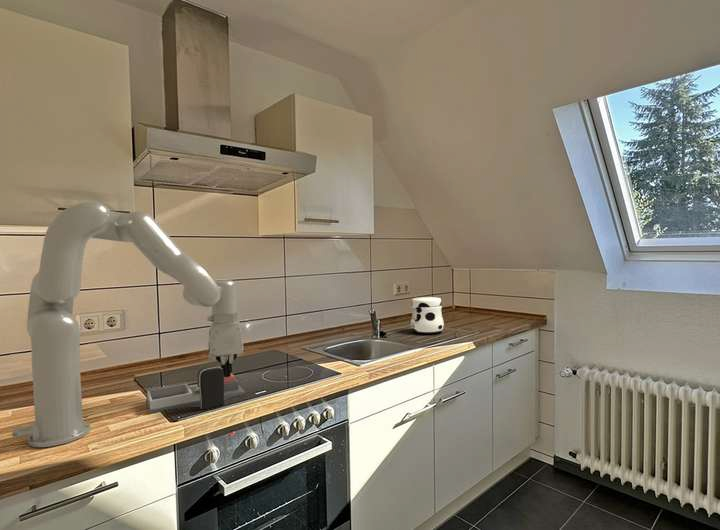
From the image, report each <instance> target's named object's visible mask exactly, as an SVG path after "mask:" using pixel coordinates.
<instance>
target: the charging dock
mask: <svg viewBox="0 0 720 530" xmlns="http://www.w3.org/2000/svg"><path fill="white" fill-rule="evenodd" d="M146 392H147V393H146V394H147V397H146V398H145V403H146V407H147V410H148V411H147V412H148V414H149V415H151V414H157V413H161V412H165V411H164V410H167V411H169V410H168V409H172V410H176V409H175V408H177V409H180V407H182V408H186V406H187V407H191V406H195V404H196V405H200V392H199V387H198V386H197V387H195V389H190V387H189V386H188V384H187V383H182V384H174V385H170V386H164V387H158V388H153V389H152V388H151V389H147V390H146ZM243 394H245V395H246V391H245V390H244V388H242V387H241V386H240V385H239V381H238V380H237V379H236V378H235V382H231V383H226V384H224V400H225V398H226V399H230V398H234V396H235V397H240V396H244V395H243ZM239 395H240V396H239ZM190 405H191V406H190Z"/></svg>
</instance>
